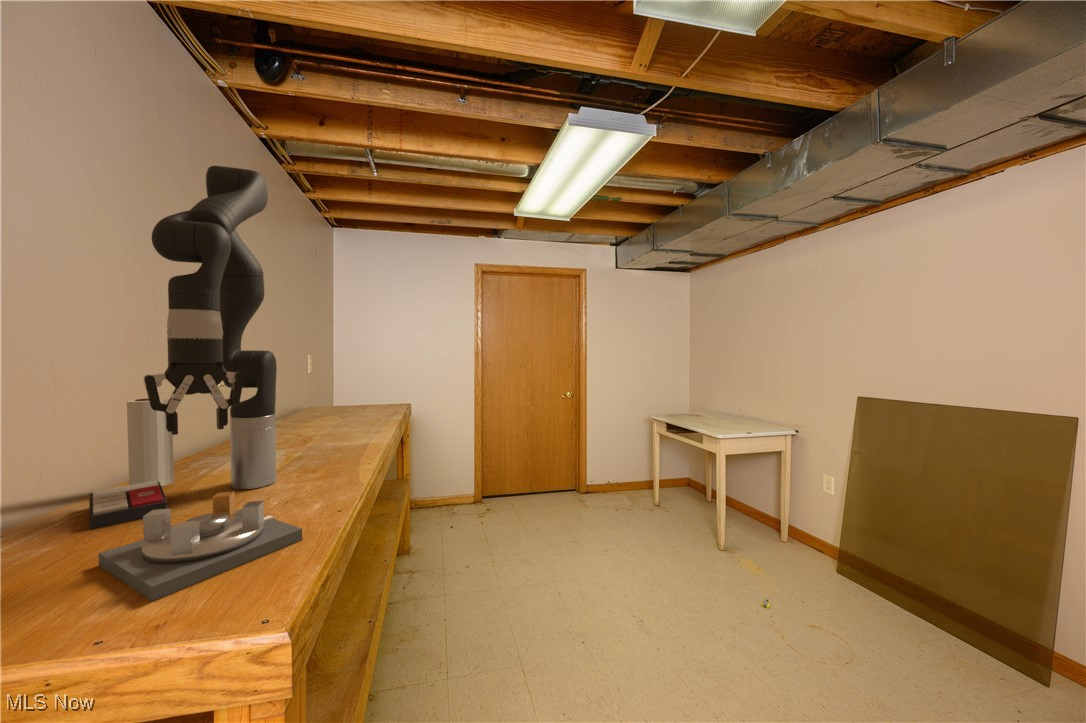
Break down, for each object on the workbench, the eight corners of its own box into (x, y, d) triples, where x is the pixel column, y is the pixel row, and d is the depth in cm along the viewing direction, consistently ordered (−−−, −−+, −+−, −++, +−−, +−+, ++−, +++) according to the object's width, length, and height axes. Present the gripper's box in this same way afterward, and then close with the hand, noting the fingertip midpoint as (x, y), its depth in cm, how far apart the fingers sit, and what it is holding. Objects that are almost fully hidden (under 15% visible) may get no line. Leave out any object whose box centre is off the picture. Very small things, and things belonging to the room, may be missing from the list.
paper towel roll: (121, 490, 100) (119, 400, 99) (149, 482, 106) (146, 397, 105) (148, 492, 99) (145, 401, 98) (174, 484, 105) (171, 398, 104)
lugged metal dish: (123, 546, 68) (122, 515, 68) (234, 512, 82) (234, 486, 82) (169, 573, 61) (168, 537, 61) (283, 530, 75) (282, 501, 75)
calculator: (89, 513, 79) (89, 489, 90) (89, 535, 80) (90, 509, 90) (167, 497, 87) (159, 477, 98) (167, 518, 88) (159, 496, 98)
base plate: (98, 565, 67) (98, 550, 67) (244, 518, 85) (244, 506, 85) (152, 601, 58) (151, 584, 58) (302, 539, 76) (302, 526, 76)
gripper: (239, 337, 83) (241, 423, 83) (137, 335, 72) (140, 434, 73) (249, 337, 78) (251, 428, 78) (141, 335, 67) (144, 441, 68)
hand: (197, 431), depth 76 cm, fingers open, 5 cm apart
